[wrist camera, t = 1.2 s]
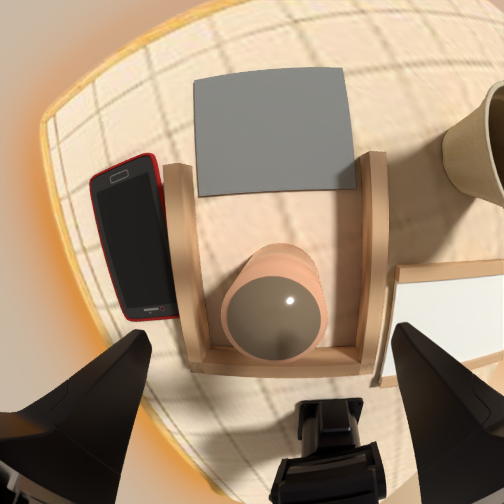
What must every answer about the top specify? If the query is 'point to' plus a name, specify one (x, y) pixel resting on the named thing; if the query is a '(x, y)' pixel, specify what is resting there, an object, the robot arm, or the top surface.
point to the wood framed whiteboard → (450, 310)
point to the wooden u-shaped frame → (319, 359)
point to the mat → (273, 131)
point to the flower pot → (478, 149)
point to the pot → (276, 306)
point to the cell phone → (136, 237)
